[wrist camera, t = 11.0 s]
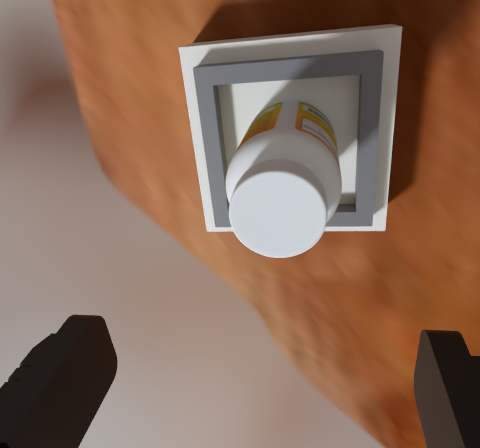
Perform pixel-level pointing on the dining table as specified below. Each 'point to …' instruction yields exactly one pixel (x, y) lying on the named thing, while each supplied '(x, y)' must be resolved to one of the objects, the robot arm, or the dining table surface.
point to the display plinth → (301, 89)
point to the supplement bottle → (284, 180)
